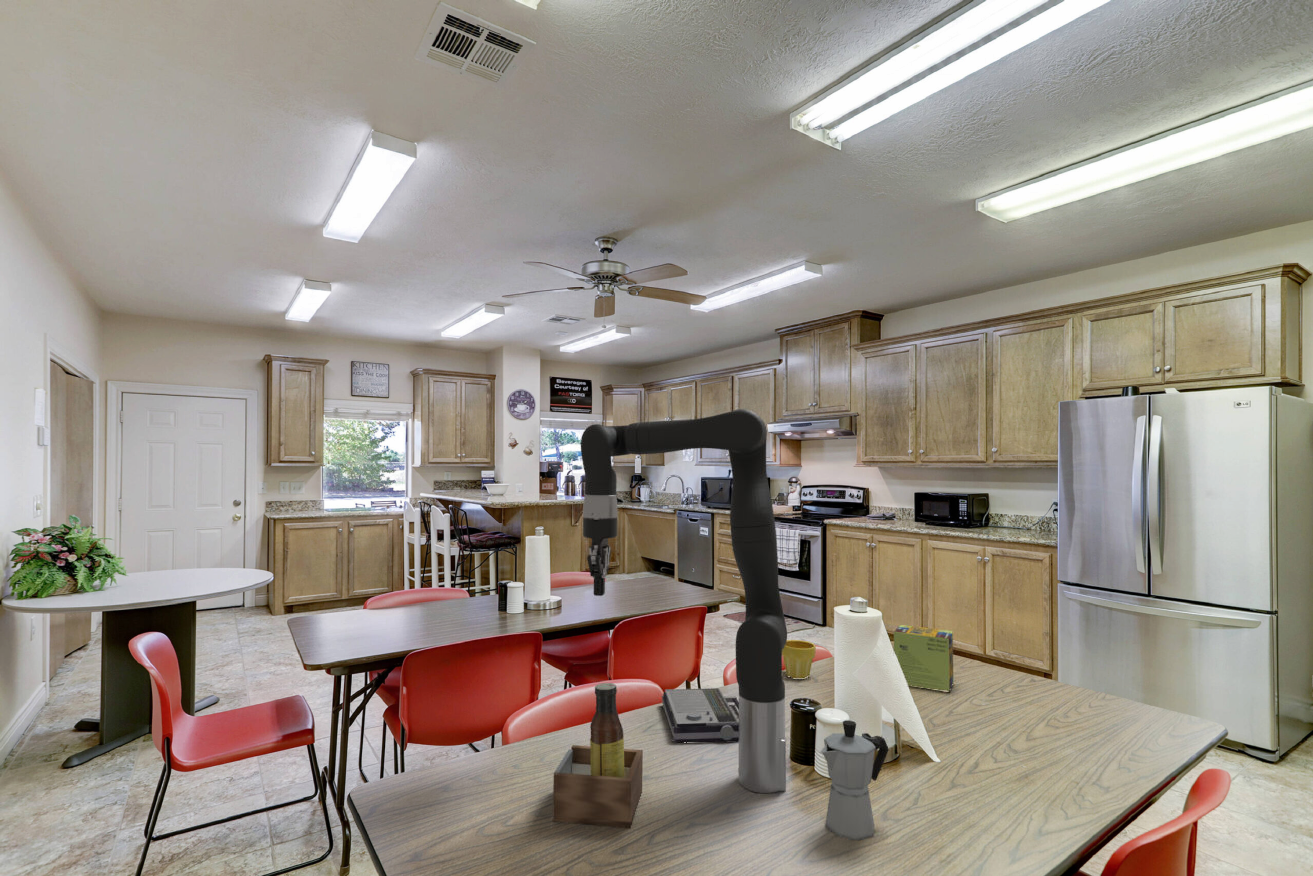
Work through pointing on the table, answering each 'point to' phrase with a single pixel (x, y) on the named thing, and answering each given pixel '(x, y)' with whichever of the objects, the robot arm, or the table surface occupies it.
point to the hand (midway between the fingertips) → (599, 595)
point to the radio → (700, 715)
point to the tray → (577, 766)
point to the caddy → (598, 793)
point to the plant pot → (798, 658)
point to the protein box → (925, 656)
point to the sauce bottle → (606, 734)
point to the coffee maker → (852, 780)
